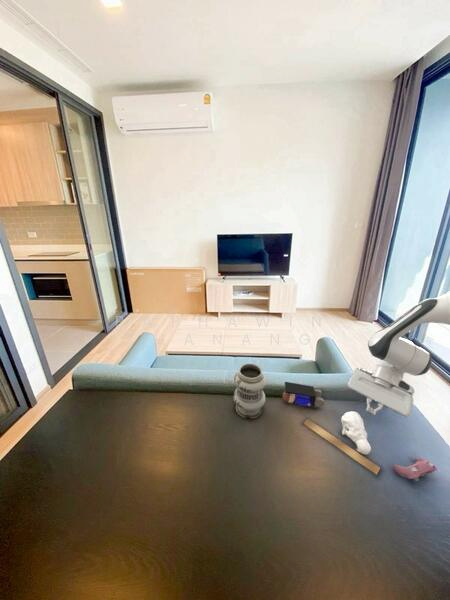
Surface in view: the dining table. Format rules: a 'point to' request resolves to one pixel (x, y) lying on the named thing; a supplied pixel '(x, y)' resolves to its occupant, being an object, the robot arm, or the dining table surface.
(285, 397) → the dark block with discs
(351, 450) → the brass ruler
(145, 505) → the dining table surface
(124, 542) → the dining table surface
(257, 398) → the apothecary jar
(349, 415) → the white sculpture
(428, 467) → the pink animal figurine
